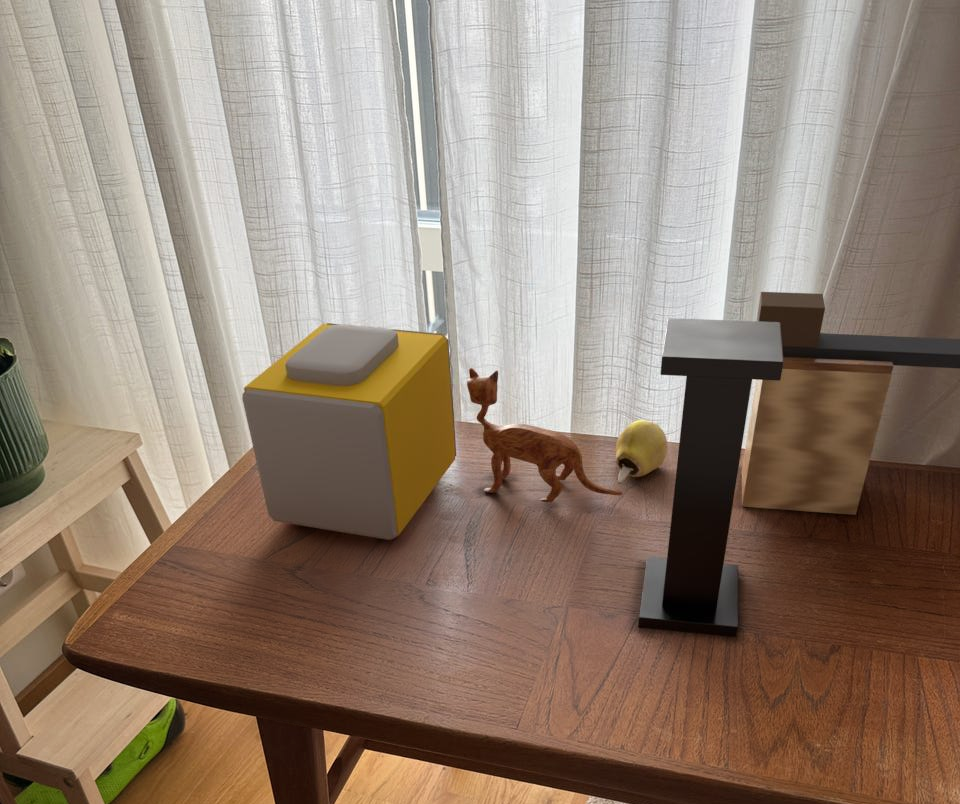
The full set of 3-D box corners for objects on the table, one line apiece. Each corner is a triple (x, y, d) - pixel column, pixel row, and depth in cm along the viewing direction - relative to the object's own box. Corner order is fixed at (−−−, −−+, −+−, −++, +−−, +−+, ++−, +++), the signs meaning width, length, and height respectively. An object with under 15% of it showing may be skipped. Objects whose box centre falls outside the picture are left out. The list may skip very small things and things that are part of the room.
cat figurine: (628, 488, 105) (636, 375, 97) (615, 518, 101) (622, 402, 92) (481, 468, 111) (476, 358, 102) (462, 495, 106) (455, 383, 97)
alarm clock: (342, 453, 115) (319, 306, 103) (460, 469, 111) (451, 317, 99) (264, 536, 101) (227, 378, 89) (396, 559, 97) (375, 395, 85)
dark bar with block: (958, 352, 92) (974, 298, 89) (964, 368, 89) (981, 313, 86) (752, 343, 96) (760, 291, 93) (753, 358, 93) (761, 305, 90)
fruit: (594, 486, 106) (621, 437, 112) (641, 507, 106) (667, 456, 111) (607, 449, 102) (636, 400, 108) (657, 471, 101) (683, 420, 107)
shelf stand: (736, 574, 92) (779, 317, 75) (736, 637, 84) (784, 367, 68) (646, 566, 94) (668, 313, 77) (638, 627, 86) (661, 361, 70)
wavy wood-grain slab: (849, 478, 105) (884, 334, 94) (855, 515, 99) (894, 366, 88) (741, 470, 107) (763, 330, 97) (741, 506, 102) (765, 360, 91)
